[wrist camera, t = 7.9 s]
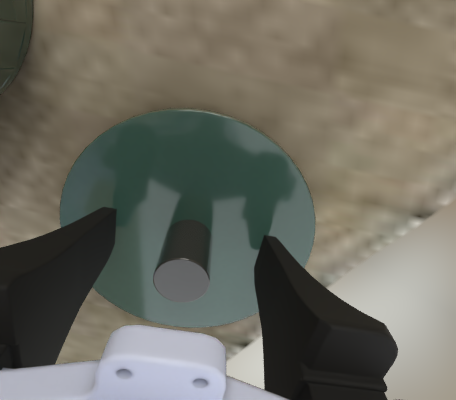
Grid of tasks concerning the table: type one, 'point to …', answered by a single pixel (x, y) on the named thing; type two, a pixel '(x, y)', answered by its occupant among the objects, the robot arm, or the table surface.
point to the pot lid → (189, 213)
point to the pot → (13, 37)
